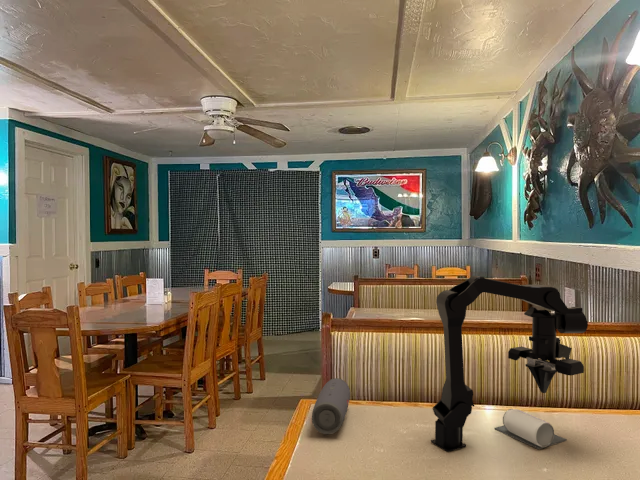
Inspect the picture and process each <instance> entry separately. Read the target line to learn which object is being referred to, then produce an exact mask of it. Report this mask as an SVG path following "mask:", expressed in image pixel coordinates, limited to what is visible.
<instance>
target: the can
mask: <svg viewBox="0 0 640 480" xmlns="http://www.w3.org/2000/svg"><path fill="white" fill-rule="evenodd" d="M502 424H503V425H504V426H505V427H506V428H507V429H508V430H509V431H510V432H512V433H514V434H515V435H517V436H519V437H521V438H524V439H526V440H528V441H530V442H532V443H534V444H536V445H538V446H540V447H545V448H547V447H546V446H548V445H549V444H551V442H552V441H553V438H554V434H555V429H554V426H553V425H552V424H551V423H550V422H549V421H546V420H545V419H542V418H540V417H537V416H535V415H533V414H530V413H528V412H525V411H523V410H520V409H518V408H508V409H507V410H506V411H505V412H504V414H503V417H502ZM548 447H549V446H548Z"/></svg>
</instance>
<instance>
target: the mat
mask: <svg viewBox="0 0 640 480" xmlns="http://www.w3.org/2000/svg"><path fill="white" fill-rule="evenodd" d="M494 430H496V431H498V432H500V433H502V434H504V435H506V436H509V437H511V438H513V439H515V440H518V441H519V442H521V443H524V444H526V445H528V446H530V447H532V448H534V449H536V450H542V449H544V448H548V447H551V446H553V445H557V444H560V443H562V442H566V441H567V438H565V437H563V436H560V435H558V434H555V433H554V438H553V441H552V442H551V444H549V445H548V446H546V447H540V446H538V445H536V444H534V443H532V442H530V441H528V440H526V439H524V438H521V437H519V436H517V435H515V434H514V433H512V432H510V431H509V430H508V429H507V428H506V427H505V426H504V424H503V425H499V426H496V427H494Z"/></svg>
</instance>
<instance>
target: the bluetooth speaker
mask: <svg viewBox="0 0 640 480" xmlns="http://www.w3.org/2000/svg"><path fill="white" fill-rule="evenodd" d="M350 398H351V390H350V387H349V385H348V383H347V382H346V381H345V380H343V379H342V378H337V377H335V378H331V379H329V380H328V381H327V382H326V383H325V384H324V386H323V387H322V388H321V390H320V392H319V394H318V396H317V398H316V401H315V402H314V403H315V404H314V405H313V409H312V412H311V423H312V426H313V427H314V429H315V430H316V431H317V432H318V433H321V434H325V435H331V434H334V433H337V432H338V431H339V430H340V428H341V427H342V426H343V423H344V421H345V418H346V415H347V411H348V408H349V404H350Z"/></svg>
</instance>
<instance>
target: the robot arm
mask: <svg viewBox="0 0 640 480" xmlns="http://www.w3.org/2000/svg"><path fill="white" fill-rule="evenodd" d="M483 293H485V294H492V295H495V296H497V295H498V296H501V297H507V298H512V299H518V300H521V301H524V302H526V303H528V304H530V305H532V306H530V308H529V309H527V310H526V311H524V315H525V316H526V317H530V318H531V319H532V320H531V323H532V327H531V328H532V332H531V333H532V334H531V335H530V336H528V341H530V342H531V348H528V347H525V346H517V347H511V348H510V349H509V350H508V352H507V358H508V359H509V360H513V361H519V359H521V358H522V359H525V360H527V362H526V363H525V364H524V365H525V367H527V368H528V371H529V372H530V373H531V376H532V377H533V379H534V380H535V382H536V385H537V387H538V389H539V391H540V393H542V394H546V393H547V391H548V389H549V387H550V385H551V382H552V380H553V378H554V376H555V374H556V373H559V374H562V375H565V376H575V375H580V374H584V373H585V366H584V364H583V362H582V361H581V360H576V359H573V358H570V357H571V353H572V347H570V346H567V345H565V344H562V343H561V339H560V337H557V331H558V332H559V333H560V334H583V333H585V332H586V331H587V329H588V326H589V323H588V320H587V316H586V315H585V314H584V312H583V308H582V307H579V306H572V307H568V306H567V305H566V303H565V302H564V301H563V299H562V297H561V293H560V291H559V289H557V288H556V287H553V286H549V285H543V284H515V283H512V282H511V283H510V282H507V281H501V280H496V279H490V278H486V277H484V276H480V275H472V276H470V277H469V278H466V280H464V281H462V282H460V283H459V284H457V285H454V286H452V287H451V288H449V289H448V290H447V289H446V290H443V291H441V292H440V293H439V294H437V296H436V301H435V302H436V306H437V312H438V315H439V317H440V320H441V323H442V326H443V327H442V328H443V341H444V342H443V344H444V346H443V347H444V362H445V381H444V383H443V385H442V389H441V391H442V392H441V397H440V399H439V401H438V402H436V404H434V405H433V407H432V412H433V414H434V415H435V416H436V417H437V419H436V420H435V422H434V425H435V428H434V429H435V433H434V436H435V437H434V438H433V439H431V440H430V443H432V444H434V445H435V446H436V447H438V448H440V449H442V450H443V451H445V452H447V453H449V452H454V451H456V450H460V449H464V448H467V444H466V443H464V442H463V440H464V439H463V438H464V437H463V436H464V435H463V431H464V427H465V424H466V421H467V417H469V416H470V415H471V414H472V409H473V408H474V407H475V404H474V400H473V397H474V390H473V389H472V388H470V387H469V386H468V384H466V383H465V373H464V372H465V368H464V351H463V349H464V348H463V330H462V329H463V328H462V327H463V324H464V322H465V319H466V315H467V307H468V306H470V305H471V304H472V303H473V302H475V301H476V299H477V298H478V297H479V296H480V295H482V294H483ZM534 306H537V307H538V308H539V307H540V308H543V309H537V307H534ZM550 311H552V312H550ZM562 358H563V359H562Z"/></svg>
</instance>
